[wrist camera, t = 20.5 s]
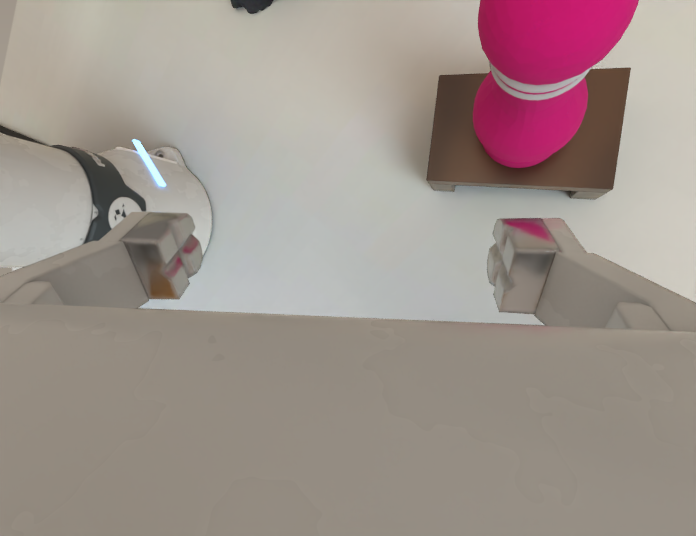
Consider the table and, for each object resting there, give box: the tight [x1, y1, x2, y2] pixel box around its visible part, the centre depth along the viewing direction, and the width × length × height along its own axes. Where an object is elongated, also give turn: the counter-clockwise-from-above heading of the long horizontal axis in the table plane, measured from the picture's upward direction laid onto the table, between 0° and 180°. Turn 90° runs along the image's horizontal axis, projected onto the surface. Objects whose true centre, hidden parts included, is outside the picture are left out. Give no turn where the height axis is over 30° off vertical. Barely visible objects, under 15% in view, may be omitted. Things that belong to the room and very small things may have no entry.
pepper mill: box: [473, 0, 639, 168], centre depth 22 cm, size 7×7×20 cm
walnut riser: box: [427, 68, 631, 199], centre depth 34 cm, size 14×9×5 cm, turn 83°
